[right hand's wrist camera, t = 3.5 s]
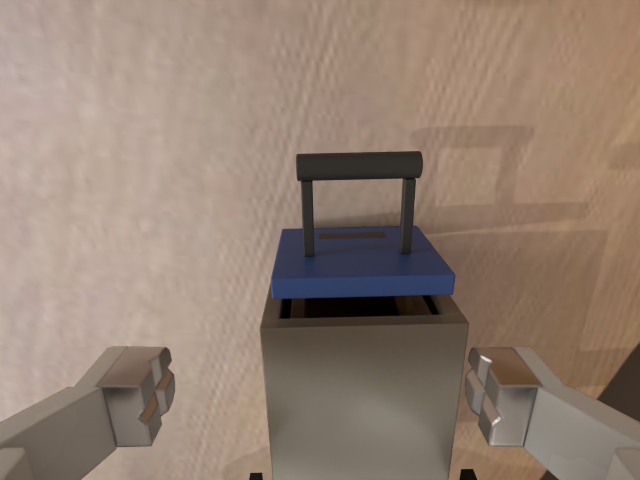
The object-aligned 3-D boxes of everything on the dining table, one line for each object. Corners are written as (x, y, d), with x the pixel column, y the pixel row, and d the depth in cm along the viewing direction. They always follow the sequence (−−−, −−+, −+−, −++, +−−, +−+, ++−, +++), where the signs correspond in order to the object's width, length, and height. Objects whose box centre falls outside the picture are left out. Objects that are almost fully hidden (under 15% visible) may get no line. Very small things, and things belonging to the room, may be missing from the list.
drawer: (277, 143, 25) (262, 164, 18) (423, 140, 25) (469, 159, 18) (292, 409, 33) (286, 501, 25) (404, 406, 33) (430, 496, 26)
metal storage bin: (276, 253, 29) (259, 328, 20) (419, 250, 29) (469, 323, 20) (288, 432, 35) (279, 553, 26) (406, 428, 35) (439, 548, 26)
